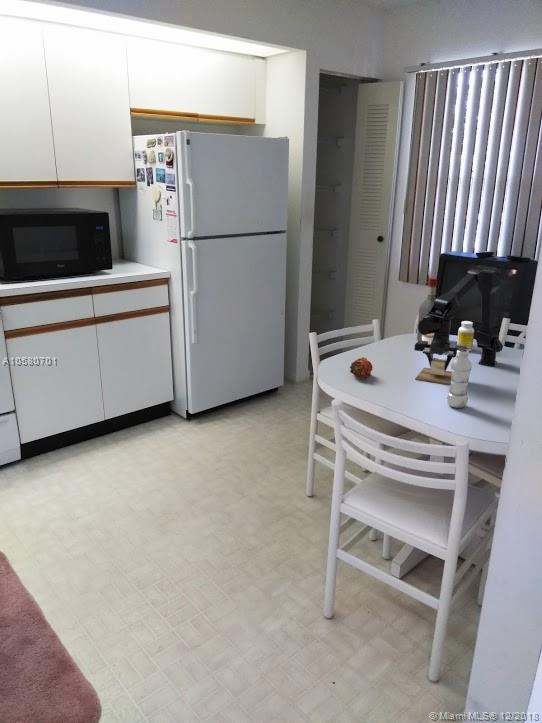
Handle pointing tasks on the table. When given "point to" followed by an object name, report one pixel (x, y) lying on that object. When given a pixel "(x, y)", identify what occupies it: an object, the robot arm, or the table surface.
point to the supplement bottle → (466, 335)
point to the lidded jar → (428, 338)
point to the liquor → (427, 303)
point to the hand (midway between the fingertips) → (438, 369)
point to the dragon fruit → (361, 368)
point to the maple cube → (438, 366)
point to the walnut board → (434, 377)
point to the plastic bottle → (459, 379)
